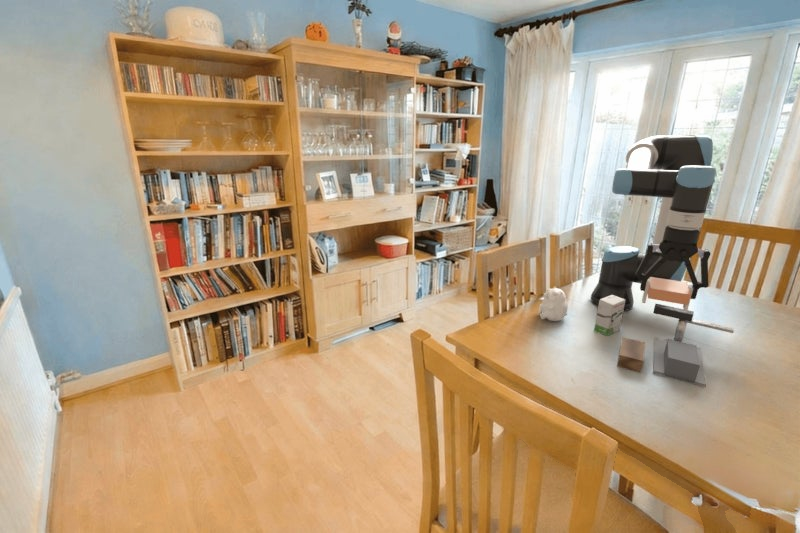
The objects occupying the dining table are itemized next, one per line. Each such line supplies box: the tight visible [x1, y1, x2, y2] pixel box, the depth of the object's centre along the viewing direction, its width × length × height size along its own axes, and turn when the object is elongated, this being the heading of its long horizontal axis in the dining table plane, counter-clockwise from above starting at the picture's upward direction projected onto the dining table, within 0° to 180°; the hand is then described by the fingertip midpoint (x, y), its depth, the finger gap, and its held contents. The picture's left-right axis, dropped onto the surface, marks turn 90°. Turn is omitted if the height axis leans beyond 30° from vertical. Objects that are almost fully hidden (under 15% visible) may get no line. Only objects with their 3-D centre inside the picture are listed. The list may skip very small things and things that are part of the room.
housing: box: [652, 337, 708, 388], centre depth 112 cm, size 12×23×6 cm, turn 147°
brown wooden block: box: [616, 336, 646, 374], centre depth 113 cm, size 6×12×4 cm, turn 147°
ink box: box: [593, 295, 625, 336], centre depth 129 cm, size 9×5×12 cm, turn 123°
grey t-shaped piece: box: [653, 303, 735, 342], centre depth 117 cm, size 3×20×11 cm, turn 52°
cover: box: [647, 277, 691, 306], centre depth 104 cm, size 9×10×3 cm
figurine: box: [538, 286, 569, 322], centre depth 138 cm, size 10×10×12 cm
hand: (663, 304), depth 105 cm, fingers closed on cover, 9 cm apart
